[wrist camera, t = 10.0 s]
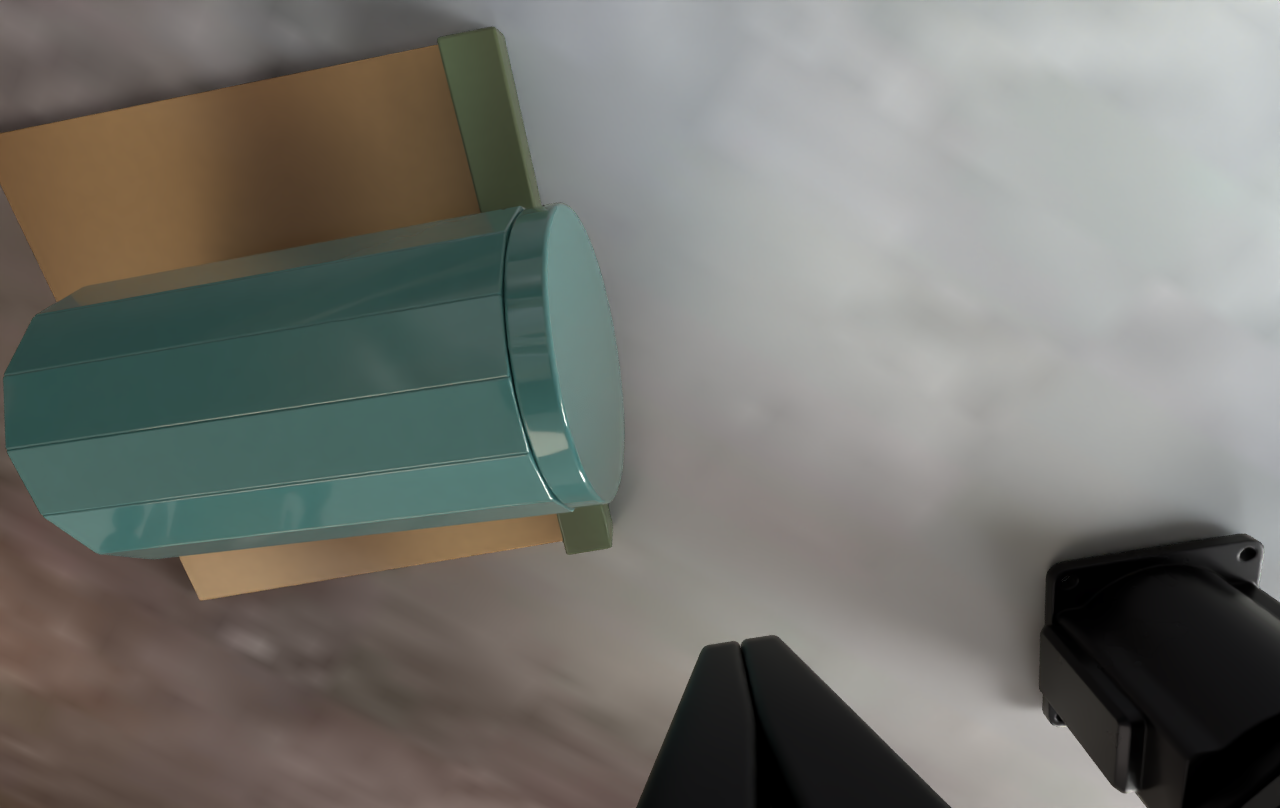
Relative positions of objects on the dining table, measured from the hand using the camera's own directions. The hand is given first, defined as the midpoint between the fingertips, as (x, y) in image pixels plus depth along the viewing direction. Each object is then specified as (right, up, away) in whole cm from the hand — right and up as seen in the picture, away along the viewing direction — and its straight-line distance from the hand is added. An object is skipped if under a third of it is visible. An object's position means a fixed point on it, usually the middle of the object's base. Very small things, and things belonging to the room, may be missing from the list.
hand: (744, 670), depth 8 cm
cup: (-2, +4, +7) cm, 8 cm away
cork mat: (-10, +4, +12) cm, 16 cm away
